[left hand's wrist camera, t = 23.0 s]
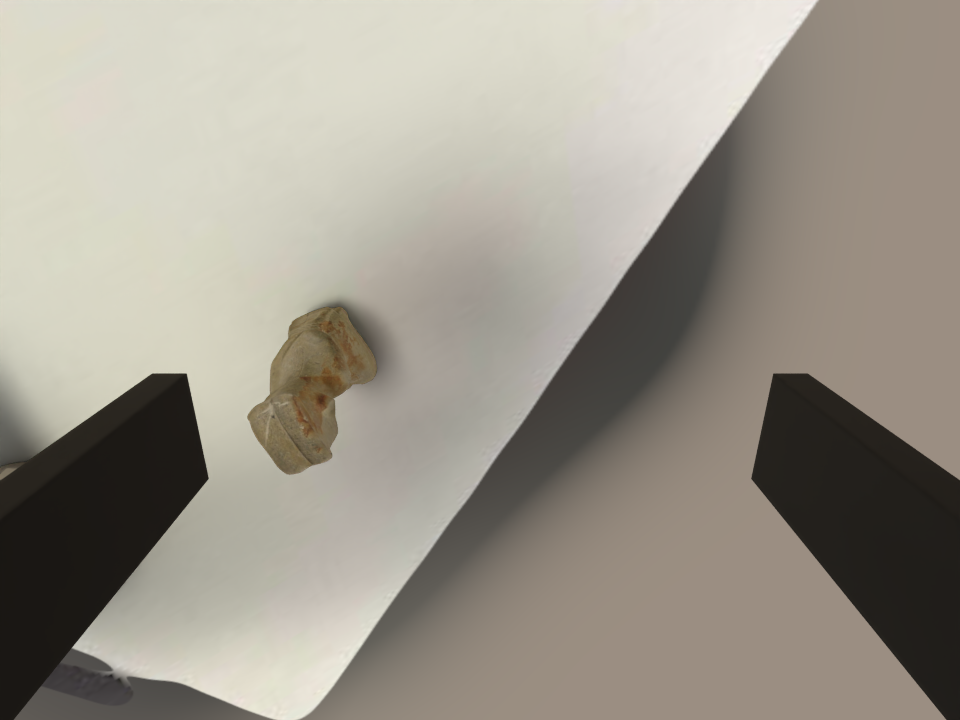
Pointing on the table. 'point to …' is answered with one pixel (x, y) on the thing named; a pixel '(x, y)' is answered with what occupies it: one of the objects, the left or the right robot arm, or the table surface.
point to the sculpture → (310, 388)
